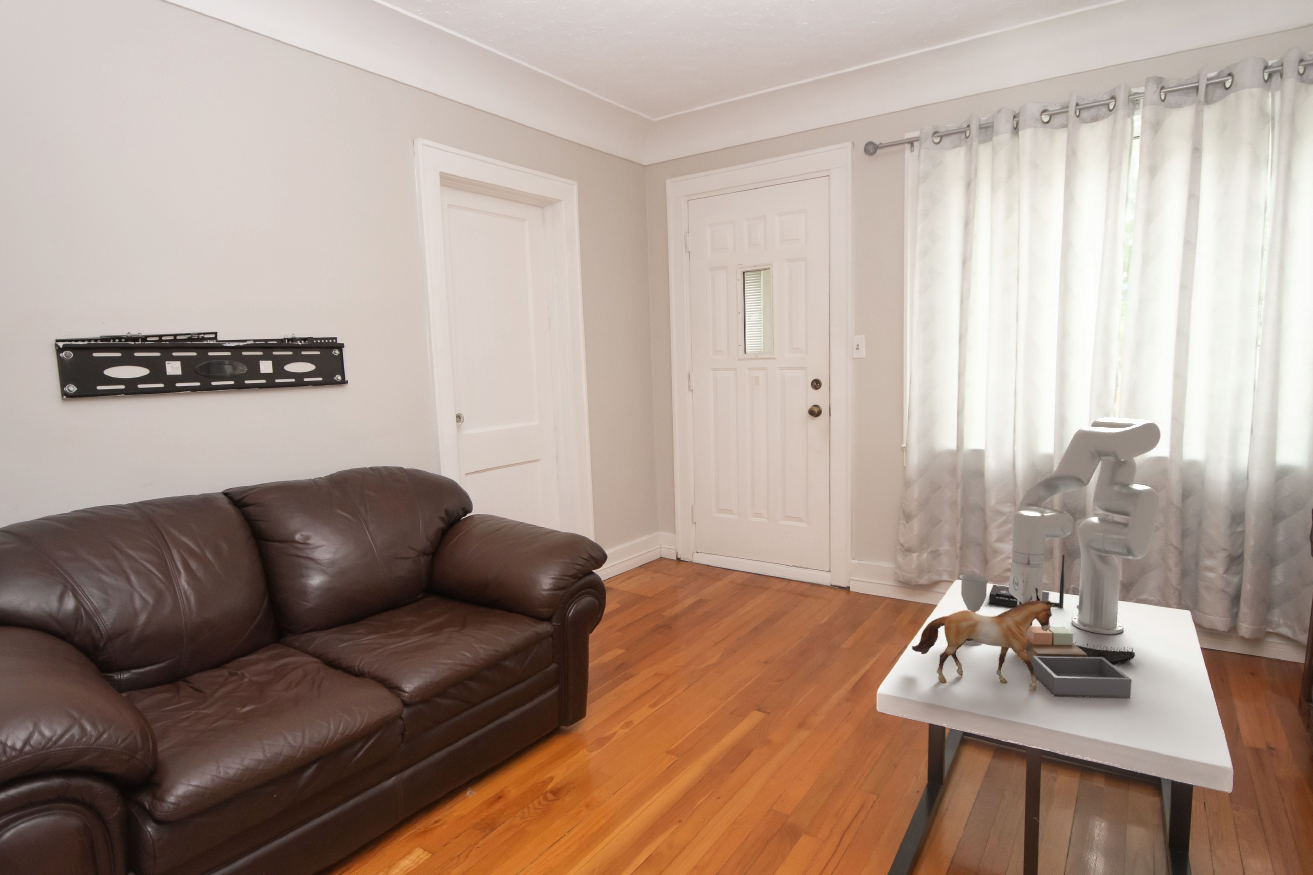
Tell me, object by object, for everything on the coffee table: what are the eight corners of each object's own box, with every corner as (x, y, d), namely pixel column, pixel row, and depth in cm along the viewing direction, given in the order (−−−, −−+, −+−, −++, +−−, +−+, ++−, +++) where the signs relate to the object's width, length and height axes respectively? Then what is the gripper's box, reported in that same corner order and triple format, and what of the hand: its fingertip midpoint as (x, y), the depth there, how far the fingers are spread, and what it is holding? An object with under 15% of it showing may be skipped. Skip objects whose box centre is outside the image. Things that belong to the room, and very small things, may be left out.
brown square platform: (1017, 652, 185) (1017, 634, 184) (1062, 653, 184) (1063, 635, 183) (1037, 672, 173) (1038, 653, 173) (1086, 673, 172) (1087, 654, 172)
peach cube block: (1025, 637, 183) (1025, 626, 182) (1043, 637, 182) (1044, 626, 182) (1033, 644, 178) (1033, 632, 178) (1051, 644, 178) (1052, 633, 177)
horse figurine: (1049, 682, 168) (1053, 599, 166) (1057, 697, 161) (1061, 610, 158) (911, 667, 177) (913, 588, 175) (912, 681, 170) (914, 598, 168)
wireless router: (988, 607, 220) (990, 553, 218) (993, 594, 232) (995, 543, 230) (1062, 618, 210) (1064, 562, 208) (1063, 604, 222) (1066, 551, 220)
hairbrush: (1029, 627, 196) (1137, 645, 180) (1029, 639, 196) (1137, 659, 180) (1021, 636, 190) (1132, 655, 174) (1021, 649, 190) (1132, 670, 174)
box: (1031, 673, 173) (1032, 655, 172) (1102, 674, 171) (1103, 657, 171) (1054, 696, 161) (1055, 677, 161) (1130, 698, 160) (1131, 679, 159)
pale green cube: (1045, 637, 182) (1046, 626, 182) (1063, 637, 182) (1064, 626, 181) (1053, 644, 178) (1054, 633, 177) (1072, 644, 177) (1073, 633, 177)
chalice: (957, 644, 191) (959, 580, 189) (957, 635, 197) (959, 573, 195) (987, 648, 188) (989, 582, 186) (986, 638, 195) (988, 575, 193)
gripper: (1001, 550, 194) (999, 614, 196) (1025, 565, 179) (1021, 634, 181) (1030, 550, 193) (1027, 615, 195) (1056, 565, 178) (1052, 635, 180)
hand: (1024, 624), depth 188 cm, fingers closed
